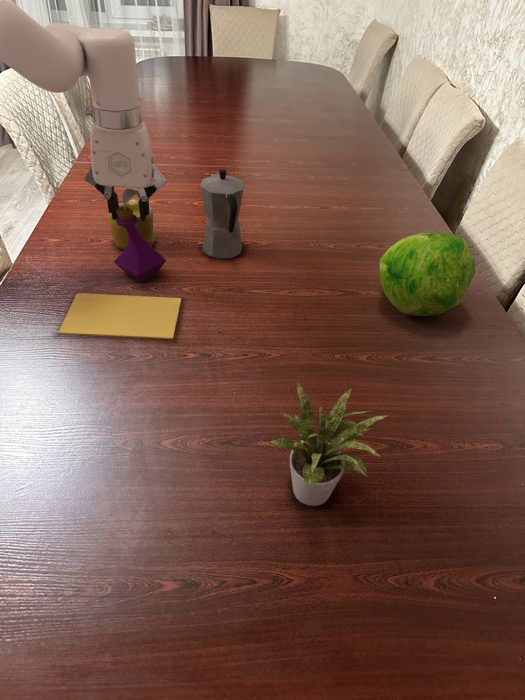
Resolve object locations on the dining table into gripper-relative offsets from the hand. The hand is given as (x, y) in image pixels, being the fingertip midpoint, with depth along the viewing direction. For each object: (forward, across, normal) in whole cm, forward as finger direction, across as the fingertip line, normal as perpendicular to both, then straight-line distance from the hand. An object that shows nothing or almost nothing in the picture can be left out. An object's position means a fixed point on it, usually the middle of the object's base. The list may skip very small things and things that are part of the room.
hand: (129, 216), depth 98 cm
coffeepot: (+13, +17, +11) cm, 24 cm away
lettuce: (+13, +56, -6) cm, 58 cm away
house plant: (+13, +33, -51) cm, 62 cm away
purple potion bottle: (+13, +1, 0) cm, 13 cm away
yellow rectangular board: (+13, 0, -14) cm, 19 cm away
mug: (+13, -3, +14) cm, 19 cm away
